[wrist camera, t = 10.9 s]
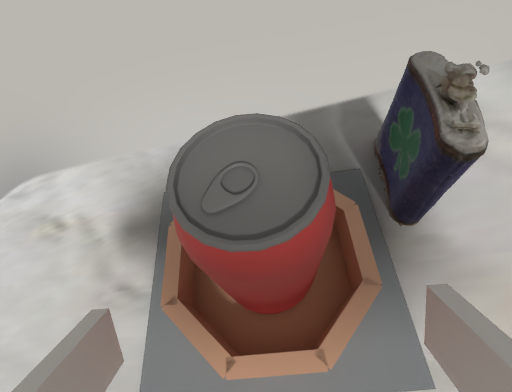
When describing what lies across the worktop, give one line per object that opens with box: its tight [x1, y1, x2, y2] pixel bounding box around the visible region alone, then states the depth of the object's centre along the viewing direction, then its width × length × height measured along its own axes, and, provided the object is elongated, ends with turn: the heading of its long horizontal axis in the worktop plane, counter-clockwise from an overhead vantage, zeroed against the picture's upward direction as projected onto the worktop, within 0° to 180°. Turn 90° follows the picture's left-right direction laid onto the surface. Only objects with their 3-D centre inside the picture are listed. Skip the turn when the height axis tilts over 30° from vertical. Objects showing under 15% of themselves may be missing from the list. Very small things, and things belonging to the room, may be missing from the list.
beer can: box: [166, 114, 336, 314], centre depth 14 cm, size 7×7×12 cm
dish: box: [160, 189, 382, 380], centre depth 18 cm, size 13×13×4 cm
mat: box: [140, 169, 436, 392], centre depth 20 cm, size 18×16×1 cm
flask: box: [375, 51, 489, 226], centre depth 19 cm, size 9×3×11 cm, turn 177°
